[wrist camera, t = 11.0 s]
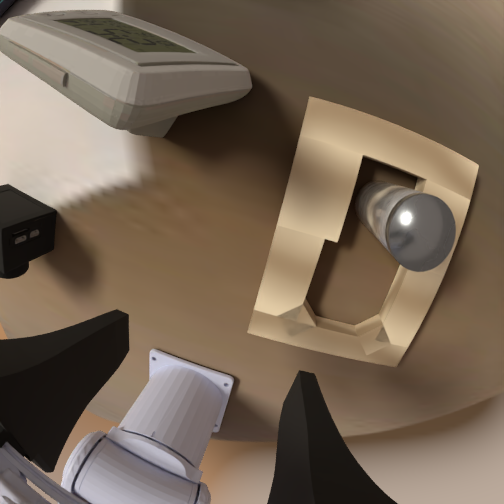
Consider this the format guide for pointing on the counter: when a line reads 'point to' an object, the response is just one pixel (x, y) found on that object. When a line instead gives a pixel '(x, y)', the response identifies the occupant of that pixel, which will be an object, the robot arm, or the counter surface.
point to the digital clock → (123, 67)
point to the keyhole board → (330, 225)
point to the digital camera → (23, 231)
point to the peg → (407, 223)
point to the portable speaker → (5, 5)
